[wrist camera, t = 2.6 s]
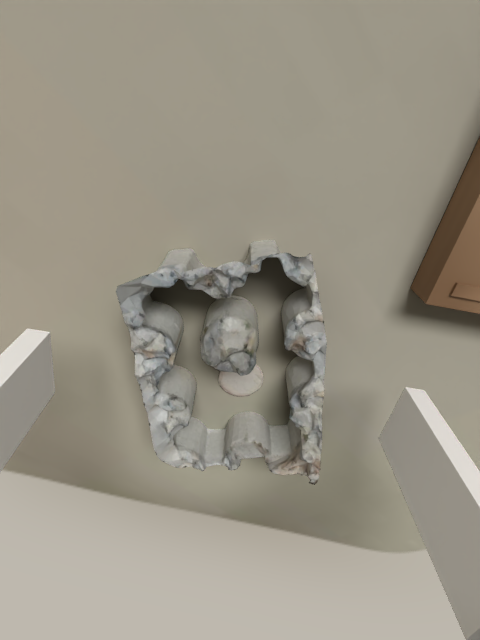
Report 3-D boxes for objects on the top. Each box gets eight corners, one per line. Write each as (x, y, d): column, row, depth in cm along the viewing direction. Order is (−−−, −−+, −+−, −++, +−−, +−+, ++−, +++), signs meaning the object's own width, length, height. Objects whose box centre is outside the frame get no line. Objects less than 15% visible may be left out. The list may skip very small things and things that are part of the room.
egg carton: (309, 425, 19) (323, 493, 16) (173, 428, 20) (157, 496, 16) (320, 231, 14) (344, 268, 11) (135, 240, 15) (98, 279, 11)
